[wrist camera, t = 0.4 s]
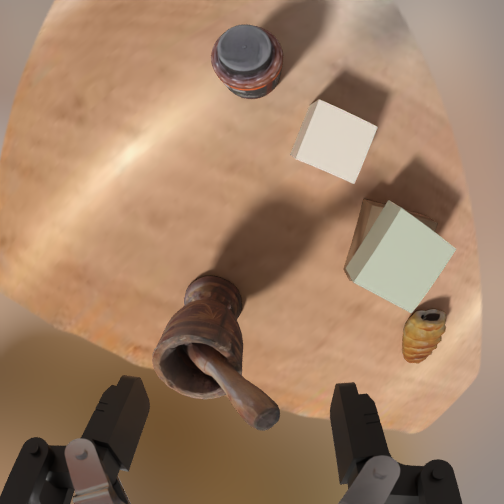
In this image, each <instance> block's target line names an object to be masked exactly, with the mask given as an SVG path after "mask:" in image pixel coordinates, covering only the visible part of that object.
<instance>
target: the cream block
mask: <svg viewBox="0 0 504 504" xmlns="http://www.w3.org/2000/svg"><path fill="white" fill-rule="evenodd" d="M376 130H377V126H375V125H373V124H371V123H369V122H367V121H365V120H363V119H361V118H359V117H357V116H355V115H353V114H350V113H348V112H346V111H344V110H342V109H340V108H338V107H335V106H333V105H331V104H329V103H326V102H324V101H322V100H317V101H316V102H314V103H312V104H311V105H310V106H309V108H308V111H307V113H306V116H305V118H304V121H303V123H302V126H301V128H300V131H299V133H298V136H297V138H296V141H295V143H294V146H293V148H292V151H291V153H290V155H291V156H292V157H294V158H295V159H297V160H299V161H302V162H304V163H307V164H309V165H312V166H314V167H316V168H319V169H321V170H323V171H326V172H328V173H330V174H333V175H335V176H337V177H340V178H342V179H344V180H346V181H348V182H351V183H353V184H354V183H355V181H356V179H357V176H358V174H359V172H360V169H361V167H362V165H363V162H364V160H365V157H366V155H367V152H368V150H369V148H370V145H371V143H372V140H373V138H374V135H375V133H376Z"/></svg>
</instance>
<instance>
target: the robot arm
mask: <svg viewBox="0 0 504 504" xmlns="http://www.w3.org/2000/svg"><path fill="white" fill-rule="evenodd" d="M149 409H150V403H149V398H148V396H147V393H146V391H145V388H144V385H143V382H142V380H141V378H139V377H132V376H126V375H123V376H122V377H121V378H120V380H119V382H118V384H117V386H114V385H111V386H110V387H109V388H108V389H107V390H106V391H105V392H104V393H103V395H102V397H101V399H100V401H99V403H98V405H97V407H96V410H95V411H94V413H93V415H92V417H91V419H90V421H89V423H88V425H87V427H86V429H85V431H84V433H83V435H82V437H81V438H80V439H75V440H73V441H71V442H70V443H69V444H68V445H67V446H50V445H48V444H47V443H46V442H45V441H44V440H43V439H42V438H38V437H34V438H31V439H29V440H27V441H26V442H25V443H24V445H23V447H22V449H21V451H20V453H19V455H18V457H17V459H16V462H15V464H14V466H13V468H12V471H11V472H10V475H9V477H8V479H7V482H6V484H5V486H4V489H3V491H2V494H1V496H0V504H70V502H71V499H72V496H73V493H74V490H75V493H76V496H73V502H74V504H131V503H130V501H129V499H128V497H127V495H126V493H125V491H124V489H123V486H122V484H121V482H120V480H119V477H118V473H119V470H124V471H129V468H130V465H131V462H132V459H133V456H134V454H135V451H136V448H137V445H138V442H139V439H140V436H141V433H142V430H143V428H144V425H145V422H146V419H147V416H148V413H149ZM330 420H331V427H332V433H333V439H334V446H335V452H336V459H337V466H338V473H339V481H340V484H348V491H347V492H346V494H345V495H344V496H343V498H342V499H341V501H340V502H339V503H338V504H462V501H461V497H460V493H459V489H458V485H457V482H456V478H455V474H454V471H453V468H452V467H451V465H450V464H449V463H448V462H446V461H443V460H432V461H430V462H428V463H427V464H426V465H425V466H410V465H403V464H400V463H398V462H397V461H396V460H394V459H393V458H392V457H391V455H390V453H389V450H388V447H387V443H386V440H385V436H384V433H383V429H382V426H381V423H380V419H379V415H378V412H377V409H376V405H375V402H374V401H373V400H372V399H371V398H370V397H369V395H368V394H358V391H357V387H356V384H355V383H354V382H352V383H339V384H336V385H335V389H334V394H333V398H332V402H331V407H330Z"/></svg>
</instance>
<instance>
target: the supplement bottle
mask: <svg viewBox="0 0 504 504" xmlns="http://www.w3.org/2000/svg"><path fill="white" fill-rule="evenodd" d="M211 62H212V66H213V69H214V71H215V73H216V74H217V76H218V77H219V78H220V80H221V81H222V82H223V83H224V84H225V85H226V86H227V87H228V88H229V90H230V91H232V92H233V93H234V94H235V95H238V96H240V97H242V98H246V99H257V98H261V97H263V96H266V95H267V94H269V93H270V92H271V91H272V90H273V89H274V88H275V87H276V85H277V83H278V81H279V78H280V74H281V68H282V64H283V51H282V48H281V45H280V43H279V42H278V40H277V39H276V38H275V36H274V35H272V34H271V33H270V32H269V31H267V30H265V29H263V28H260V27H257V26H252V25H238V26H235V27H232V28H230V29H228V30H227V31H226V32H225V33H223V34H222V35H221V36H220V37H219V38H218V40H217V41H216V43H215V44H214V47H213V50H212V55H211Z"/></svg>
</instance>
